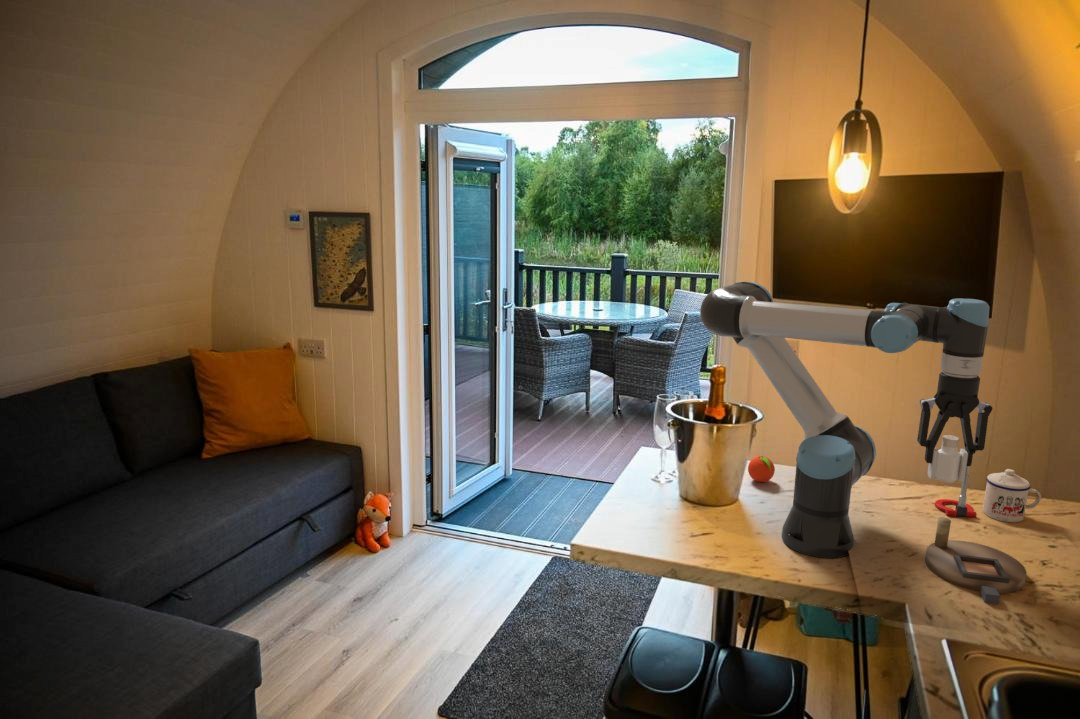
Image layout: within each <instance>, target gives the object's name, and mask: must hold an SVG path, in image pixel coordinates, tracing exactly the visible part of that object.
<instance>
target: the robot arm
mask: <svg viewBox="0 0 1080 719" xmlns="http://www.w3.org/2000/svg"><path fill="white" fill-rule="evenodd" d="M699 313H700V319H701V322H702V324H703V325H704V327H705V328H706V329H707V330H708V331H709V332H710V333H712V334H714V335H715V336H720V337H725V338H727V337H728V338H732V339H733V340H734V342H735V343H736V345H737V346H738V347H740V348H742V347H743V348H746V349H747V350H748V351H749V353H750V354H751V356H752V357H753V358H754V360H755V361H756V363H757V364H758V366H759V368H760V369H761V370H762V371H763V373H764V374H765V376H766V377H767V379H768V381H769V382H770V383H771V385H772V387H774V389H775V391H776V392H777V393H778V394H779V396H780V398H781V399H782V401H783V402H784V403H785V405H786V406H787V408H788V409H789V411H790V412H791V414H792V416H794V418H795V421H797V423H798V424H799V425H800V427H801V428H802V430H803V432H804V433H803V440H802V441H801V443H800V444H799V446H798V451H797V453H796V458H795V460H796V465H795V477H794V478H795V479H794V487H793V500H792V506H791V508H790V511H789V512H788V514H787V517H786V519H785V521H784V523H783V525H782V527H781V528H782V530H781V539H782V541H783V543H784V544H785V545H786V546H788V547H789V548H790V549H792V550H794V551H796V552H797V553H800V554H803V555H806V556H812V557H815V558H816V557H817V558H824V559H836V558H841V557H846V556H848V555H850V552H849V551H850V550H852V549H853V547H854V542H855V537H854V533H853V529H852V525H851V520H850V516H849V514H850V513H849V512H850V511H849V510H850V502H851V493H852V487H853V486H854V485H855V484H856V483H857V482H858V481H859V480H861V478H862V477H863V476H865V475H867V473H868V472H869V471H870V470H871V469H872V466H873V465H874V462H875V460H876V456H877V449H876V443H875V442H874V439H873V437H872V435H870V434H869V433H868V432H867V431H866V430H865V429H863V428H862V427H860V426H856V425H854V423H853V421H852V420H851V419H850V417H849V416H848V415H847V414H844V413H840V412H838V411H836V409H835V407H834V406H833V405H832V403H831V402H830V400H829V399H828V398H827V396H826V395H825V393H824V392H823V390H822V389H821V387H820V386H819V385H818V383H817V382H816V381H815V379H814V378H813V376H812V375H811V373H810V372H809V370H808V369H807V368H806V365H804V364H803V361H802V360H801V359H800V358H799V356H798V355H797V354H796V352H795V351H794V349H793V347H791V345H790V343H789V342H788V341H787V339H793V340H803V341H812V342H820V343H831V344H841V345H847V346H848V345H850V346H858V347H859V346H860V347H868V348H874V349H878V350H879V351H881V352H884V353H887V354H896V353H897V354H898V353H901V352H902V353H903V352H905V351H906V350H908V349H910V348H911V347H912V346H913V345H914V344H916V343H917V342H929V343H935V344H942V353H941V360H940V365H939V369H940V371H941V372H940V373H939V375H938V379H937V380H938V382H937V388H936V390H937V391H936V394H935V395H934V396H933V398H929V399H925V398H921V399H920V400H919V404H920V409H921V412H920V419H919V424H918V425H919V426H918V430H917V432H918V433H917V438H916V440H917V442H918V444H919V446H921V447H924V448H925V452H924V460H925V462H926V464H928V466H927V476H928V478H929V479H930V480H936V479H935V471H936V464H937V457H938V450H939V449H937V447H936V446H937V443H939V439H940V437H941V435H942V432H943V430H944V428H945V426H946V424H947V422H949V419H950V418H958V419H960V425H961V433H962V438H963V444H964V448H959V453H961V460H960V467H959V473H958V478H957V480H958V481H959V482H960V483H962V482H964V479H965V472H966V466H969V467H971V466H972V463H973V457H974V456H973V455H974V454H975V453H976V452H978V451H982V452H983V451H984V449H985V446H986V437H987V431H988V430H987V429H988V422H989V416H990V414H991V413H992V411H993V406H992V405H991V404H989V403H988V402H982V401H980V399H979V389H980V384H981V378H980V376H981V373H982V368H983V362H984V355H985V348H986V344H987V343H986V342H987V335H988V330H989V325H990V323H989V317H990V305H989V303H988V302H986V301H985V300H982V299H981V300H980V299H975V298H952V299H950V300H949V301H948V305H947V306H944V307H943V306H941V307H939V306H931V305H923V304H922V305H921V304H913V303H908V302H902V303H901V302H890V303H888V304H887V305H886V307H885V308H884V310H873V309H872V310H871V309H861V308H860V309H858V308H847V307H835V306H833V307H832V306H822V305H811V304H800V303H786V302H775V301H774V299H773V297H772V294H771V293H770V292H769V290H768V289H767V287H764V286H763V285H761V284H760V283H756V282H753V281H740V282H735V283H733V284H729V285H725V286H722V287H721V286H720V287H719V288H718V287H717V288H715V289H713V290H711V291H710V292H709V293H707V295H705V296H704V298H703V300H702V303H701V306H700V310H699ZM934 405H936V406H937V408H938V413H937V416H936V419H935V422H934V423H933V426H932V428H931V430H930V433H929V426H930V422H931V421H930V420H931V413H932V412H931V410H932V409H933V408H934ZM976 408H977V409H976ZM975 409H976V410H977V411H978V412H977V413H978V414H977V417H976V418H977V421H976V428H975V436H974V438H973V431H972V426H971V416H970V414H971V413H972V412H973V411H974V410H975ZM928 433H929V434H928ZM973 439H974V440H973Z"/></svg>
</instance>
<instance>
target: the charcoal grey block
mask: <svg viewBox="0 0 1080 719" xmlns="http://www.w3.org/2000/svg"><path fill="white" fill-rule="evenodd" d="M979 592H980V591H979ZM979 594H980V597H981V600H983V602H984V603H985V604H994V605H999V603H1000V599H1001V594H1000V593H998V591H997V589H996V588H994V587H987V586H981V592H980V593H979Z"/></svg>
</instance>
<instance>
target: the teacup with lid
mask: <svg viewBox="0 0 1080 719" xmlns="http://www.w3.org/2000/svg"><path fill="white" fill-rule="evenodd" d="M985 480H986V484H985V485H986V487H985V492H984V498H983V506H982V511H983V514H985V515H986V516H988V517H989V518H992V519H993V520H997V521H1000V522H1004V523H1005V522H1006V523H1019V522H1021V521H1023V520H1024V518H1025V513H1026V512H1025V511H1026V509H1027V510H1028V509H1034V508H1036V507H1037V506H1038V505H1039V504H1040V502H1041V501H1042V500H1041V499H1042V495H1041V493H1040V492H1039V491H1038V489H1037V490H1036V489H1035V488H1031V484H1030V482H1029V481H1028V480H1027V479H1025V478H1023V477H1021V476H1019V475H1018V474H1016V471H1015V470H1014V469H1010V468H1006V469H1005V470H1004V471H1002V472H993V473H990V474H988V475H987V476H986V479H985ZM1029 493H1034V494H1036V498H1035V500H1034V501H1033V502H1032V503H1030V504H1027V502H1028V495H1029Z"/></svg>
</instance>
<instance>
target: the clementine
mask: <svg viewBox="0 0 1080 719" xmlns="http://www.w3.org/2000/svg"><path fill="white" fill-rule="evenodd" d="M747 466H748V467H747V472H748V475H749V477H750V478H752V480H753V481H756V482H758V483H766V482H768V481H770V480H771V479H772V478H773V477H774V475H775V471H776V469H775V468H776V467H775V464H774V462H773V461H772V460H771V459H769V457H767V456H764V455H757V456H755V457H753V458H752V459H751V460H750V462H749V463H748V465H747Z"/></svg>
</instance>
